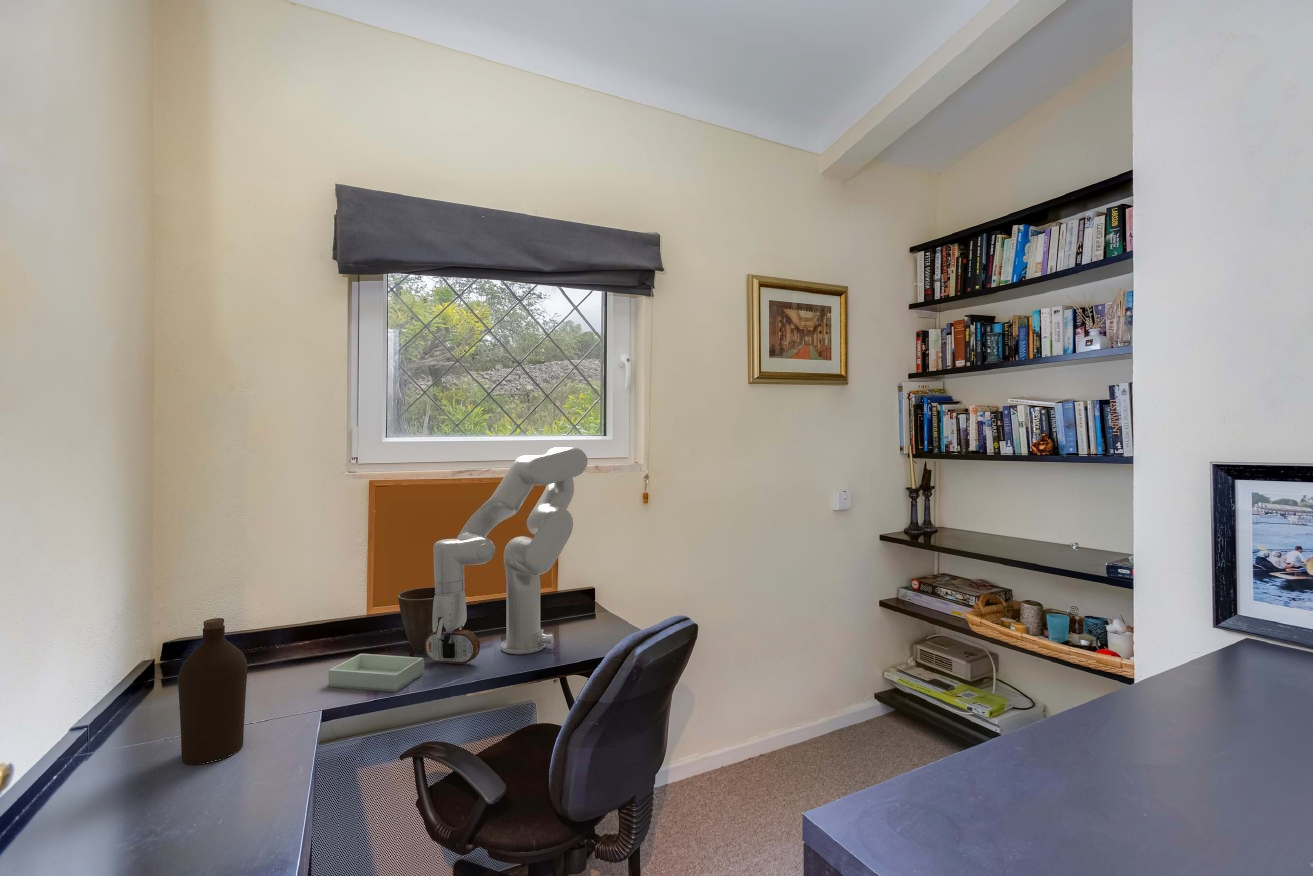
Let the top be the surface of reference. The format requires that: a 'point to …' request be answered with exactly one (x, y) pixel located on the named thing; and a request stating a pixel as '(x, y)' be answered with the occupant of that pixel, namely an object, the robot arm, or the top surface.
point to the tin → (464, 647)
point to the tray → (376, 672)
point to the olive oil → (212, 697)
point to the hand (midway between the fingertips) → (452, 654)
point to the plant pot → (417, 615)
